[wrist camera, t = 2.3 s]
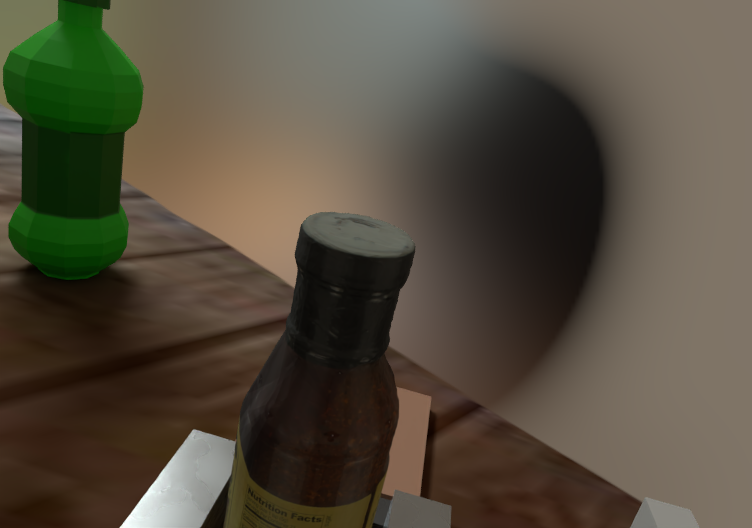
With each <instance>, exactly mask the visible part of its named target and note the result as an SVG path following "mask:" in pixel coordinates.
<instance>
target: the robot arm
mask: <svg viewBox="0 0 752 528" xmlns="http://www.w3.org/2000/svg"><path fill="white" fill-rule="evenodd" d="M630 528H699V526H698V524H697V522H696V520H695V518H694V516H693V514H692V512H691V510H689V509H686V508H682V507H678V506H675V505H671V504H668V503H664V502H661V501H657V500H654V499H650V498H645V499H644V501H643V503H642V505H641V507H640V509H639V511H638V513H637V515H636V517H635V519H634V521H633V523H632V525H631V527H630Z"/></svg>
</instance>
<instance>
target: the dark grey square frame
mask: <svg viewBox="0 0 752 528" xmlns="http://www.w3.org/2000/svg"><path fill="white" fill-rule="evenodd" d="M235 444H236V442H234V441H231V440H228V439H224V438H221V437H218V436H214V435H211V434H208V433H204V432H201V431H197V430H193V431H192V432H191V434H190V435H189V437H188V438H187V439H186V441H185V442H184V443H183V445H182V446H181V447H180V449H179V450H178V451H177V453H176V454H175V455H174V457H173V458H172V459H171V461H170V462H169V463H168V465H167V466H166V467H165V469H164V470H163V471H162V473H161V474H160V475H159V477H158V478H157V479H156V481H155V482H154V483H153V485H152V486H151V487H150V489H149V490H148V491H147V493H146V494H145V495H144V497H143V498H142V499H141V501H140V502H139V503H138V505H137V506H136V507H135V509H134V510H133V511H132V513H131V514H130V515H129V517H128V518H127V519H126V521H125V522H124V523H123V525H122V526H121V527H120V528H224V519H225V516H226V508H227V499H228V493H229V485H230V477H231V472H232V465H233V459H234V453H235ZM450 525H451V506H449V505H446V504H443V503H439V502H436V501H433V500H429V499H426V498H422V497H419V496H416V495H412V494H409V493H406V492H402V491H399V490H396V489H395V490H394V494H393V497H392V500H387V499H384V498H381V497H380V499H379V503H378V506H377V510H376V514H375V517H374V521H373V524H372V528H450Z"/></svg>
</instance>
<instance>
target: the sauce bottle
mask: <svg viewBox="0 0 752 528" xmlns="http://www.w3.org/2000/svg"><path fill="white" fill-rule="evenodd" d="M414 253H415V243H414V242H413V241H412V239H411V238H410V236H409V235H408V234H407V233H405V232H404V231H403V230H401V229H399V228H397V227H395V226H394V225H391V224H389V223H387V222H384V221H381V220H378V219H373V218H371V217H368V216H362V215H356V214H349V213H336V212H320V213H316V214H313V215H310V216H309V217H308V218H306V220H305V221H304V222H303V223H302V224H301V227H300V232H299V238H298V241H297V246H296V251H295V259H296V263H297V267H298V272H297V278H296V285H295V290H294V296H293V303H292V307H291V313H290V314H289V316H288V318H287V321H286V330H285V332H284V333H283V335H282V336H281V338H280V340H279V341H278V343H277V345H276V346H275V348H274V350H273V351H272V353H271V355H270V356H269V358H268V360H267V361H266V363H265V365H264V366H263V368H262V370H261V371H260V373H259V375H258V376H257V378H256V380H255V381H254V383H253V385H252V386H251V388H250V390H249V391H248V393H247V395H246V397H245V399H244V401H243V404H242V408H241V411H240V418H239V425H238V431H237V437H236V444H235V453H234V459H233V465H232V472H231V477H230V485H229V493H228V499H227V508H226V516H225V519H224V528H372V524H373V521H374V517H375V514H376V510H377V506H378V503H379V499H380V496H381V492H382V489H383V485H384V481H385V478H386V474H387V470H388V466H389V459H390V456H389V452H390V448H391V446H392V441H393V437H394V435H395V431H396V428H397V424H398V419H399V398H398V396H397V388H396V385H395V380H394V374H393V371H392V369H391V367H390V365H389V363H388V361H387V359H386V357H385V354H384V353H385V351H386V349H387V347H388V345H389V342H390V337H389V331H390V327H391V322H392V320H393V315H394V311H395V308H396V304H397V302H398V296H399V291H400V289H401V288H402V287H403V286H404V284H405V282H406V281H407V278H408V276H409V273H410V268H411V266H412V261H413V258H414Z"/></svg>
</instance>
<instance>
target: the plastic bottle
mask: <svg viewBox="0 0 752 528" xmlns="http://www.w3.org/2000/svg"><path fill="white" fill-rule="evenodd" d="M103 9H107V10H109V9H110V0H58V20H57V21H56V22H54V23H53V24H51V25H49V26H47V27H46V28H44V29H43V30H41V31H39V32H37V33H36V34H34V35H33V36H32V37H30V38H29V39H27V40H26V41H24V42H23V43H22V44H20V45H19V46H17V47H16V48H15V49H13V50H12V51H10V54H9V56H8V58H7V60H6V62H5V65H4V67H3V86H4V90H5V94H6V98H7V102H8V103H9V104H10V105H11V106H12V107H13V108H14V110H15V111H16V112H17V113H18V114H19V115H20V116H21V117H22V201H21V202H20V204H19V206H18V207H17V209H16V210H15V212H14V214H13V216H12V218H11V220H10V222H9V239H10V241H11V243H12V245H13V247H14V249H15V250H16V251H17V252H18V253H19V254H20V255H21V256H22V257H23V258H25V259H26V260H28V261H29V262H30V263H32V264H33V265H34V266H36V267H37V268H38V270H40V271H41V272H42V273H44V274H45V275H47V276H49V277H54V278H59V279H64V280H73V279H87V278H89V277H92V276H94V275H96V274H99V272H100V271H101V270H103V269H105V268H106V267H108V266H109V265H111V264H113V263H115V262H116V261H117V260H118V259H119V258H120V257H121V255H122V254H123V252H124V250H125V248H126V245H127V237H128V226H129V223H128V220H127V217H126V214H125V212H124V210H123V208H122V206H121V204H120V192H121V177H122V163H123V150H124V136H125V132H126V131H127V130H128V129H129V128H131V127H132V126H133V125H134V124H136V123H137V120H138V117H139V114H140V110H141V106H142V97H143V83H142V80H141V76H140V73H139V70H138V69H137V68H136V67H135V65H134V64H133V63H132V62H131V61H130V59H129V58H128V57H127V56H126V54H125V53H124V52H123V51H122V50H121V48H120V47H119V46H118V45H117V44H116V43H115V42H114V41H113V40H112V39H111V38H110V37H109V36H108V35H107V34H106V33H105V31H104V30H103V29H102V15H103Z"/></svg>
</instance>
